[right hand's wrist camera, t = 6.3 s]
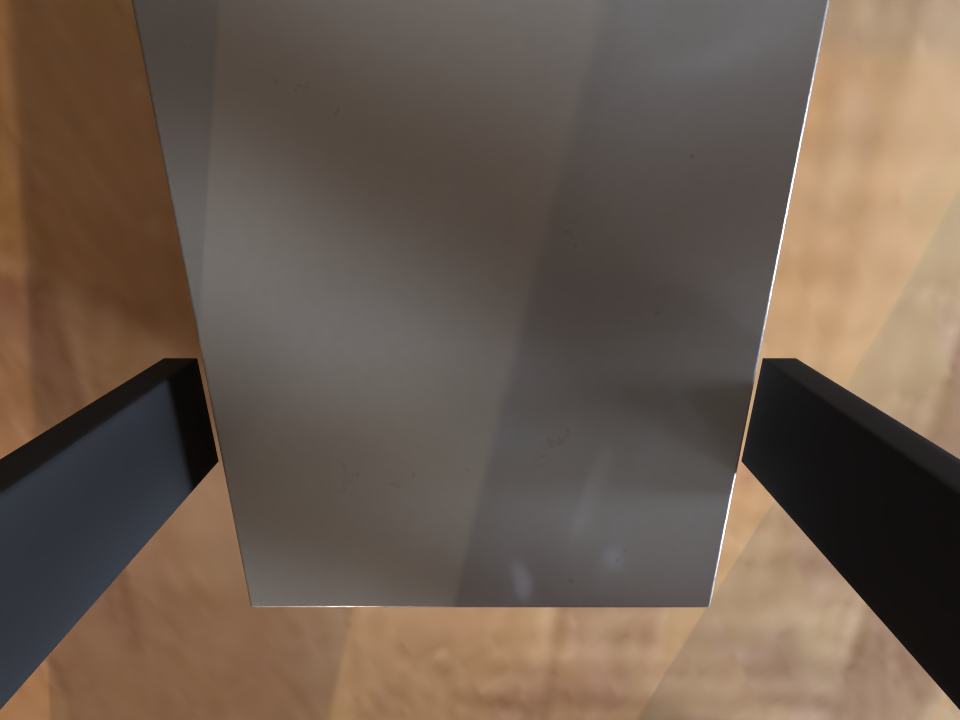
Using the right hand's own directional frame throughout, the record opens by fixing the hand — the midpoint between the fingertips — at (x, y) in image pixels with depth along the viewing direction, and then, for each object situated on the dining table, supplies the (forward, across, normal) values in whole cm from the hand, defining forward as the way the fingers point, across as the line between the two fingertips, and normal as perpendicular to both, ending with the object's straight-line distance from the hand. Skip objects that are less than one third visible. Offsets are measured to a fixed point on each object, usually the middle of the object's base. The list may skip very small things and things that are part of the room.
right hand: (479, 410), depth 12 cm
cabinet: (+8, 0, -6) cm, 10 cm away
